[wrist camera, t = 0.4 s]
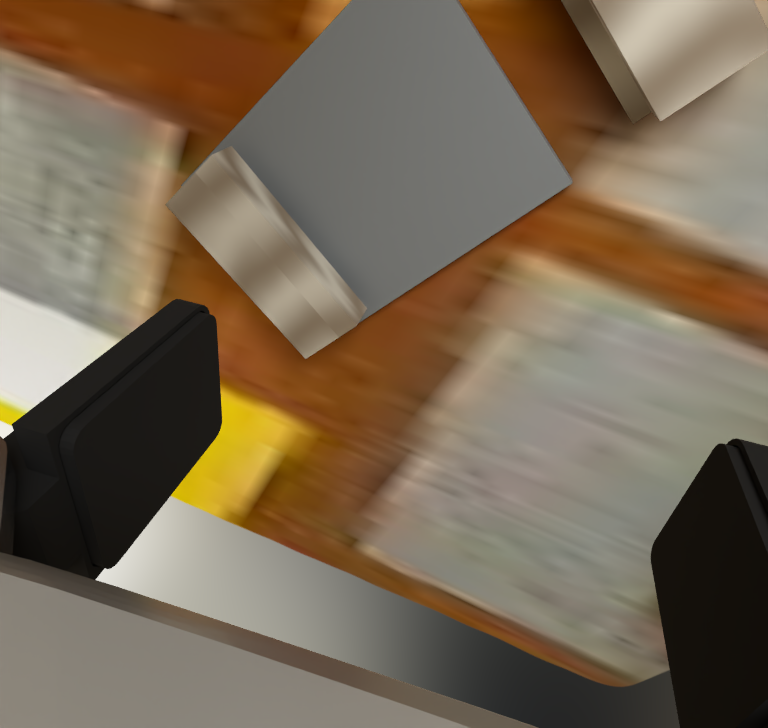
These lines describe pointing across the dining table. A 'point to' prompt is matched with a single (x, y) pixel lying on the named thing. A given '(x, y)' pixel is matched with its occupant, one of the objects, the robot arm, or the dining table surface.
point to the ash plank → (668, 47)
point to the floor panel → (397, 144)
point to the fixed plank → (266, 252)
